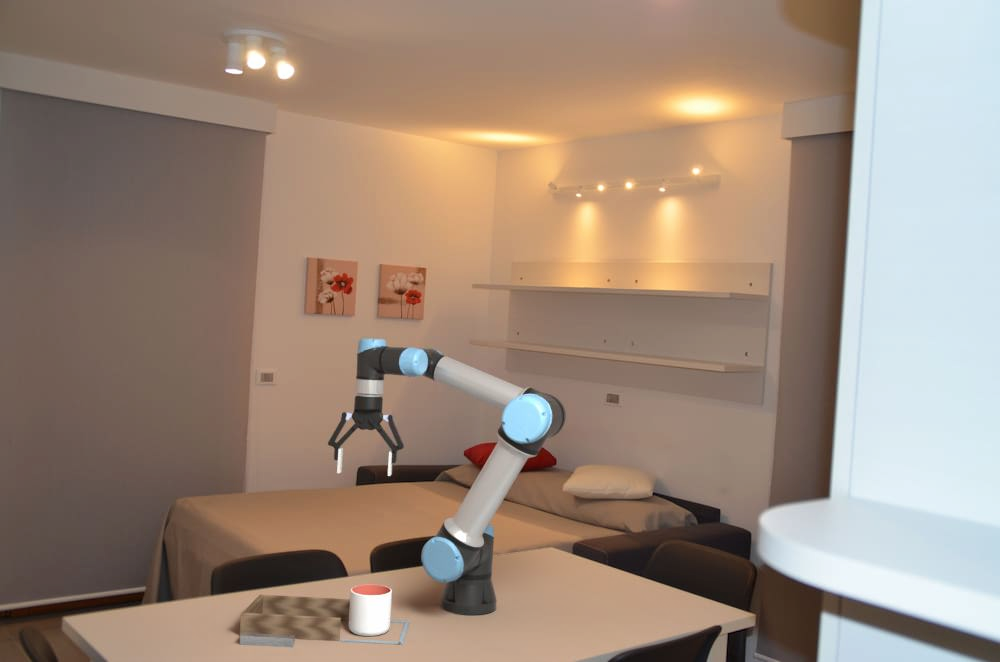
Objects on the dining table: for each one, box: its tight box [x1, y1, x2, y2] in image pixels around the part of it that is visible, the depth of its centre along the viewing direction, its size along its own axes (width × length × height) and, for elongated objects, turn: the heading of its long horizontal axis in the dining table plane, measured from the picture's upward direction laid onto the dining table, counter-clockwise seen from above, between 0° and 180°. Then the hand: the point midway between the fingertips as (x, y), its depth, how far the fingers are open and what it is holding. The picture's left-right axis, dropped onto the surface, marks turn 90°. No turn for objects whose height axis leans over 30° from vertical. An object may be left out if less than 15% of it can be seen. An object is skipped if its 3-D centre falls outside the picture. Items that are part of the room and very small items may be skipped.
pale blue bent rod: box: [340, 619, 410, 646], centre depth 211 cm, size 14×17×1 cm
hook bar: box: [239, 630, 296, 648], centre depth 199 cm, size 12×4×2 cm, turn 90°
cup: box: [348, 583, 393, 637], centre depth 211 cm, size 10×10×10 cm
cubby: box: [239, 594, 350, 642], centre depth 211 cm, size 23×16×5 cm
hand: (364, 474), depth 234 cm, fingers open, 13 cm apart
